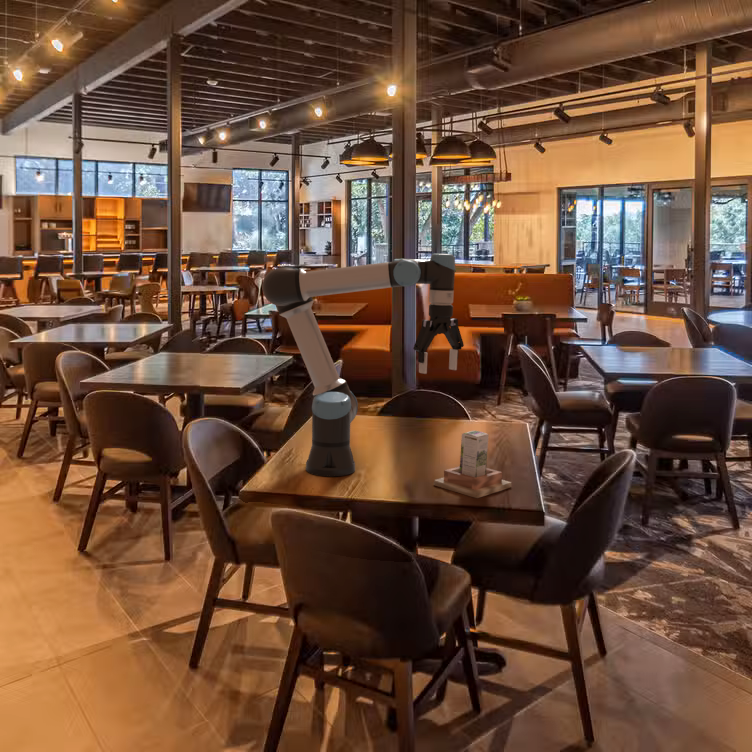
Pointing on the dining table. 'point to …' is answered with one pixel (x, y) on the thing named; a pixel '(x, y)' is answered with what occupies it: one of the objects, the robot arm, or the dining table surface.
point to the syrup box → (474, 453)
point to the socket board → (472, 482)
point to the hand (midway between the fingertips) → (438, 371)
